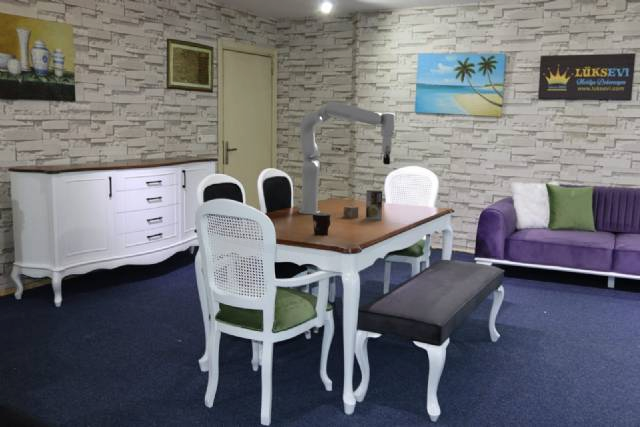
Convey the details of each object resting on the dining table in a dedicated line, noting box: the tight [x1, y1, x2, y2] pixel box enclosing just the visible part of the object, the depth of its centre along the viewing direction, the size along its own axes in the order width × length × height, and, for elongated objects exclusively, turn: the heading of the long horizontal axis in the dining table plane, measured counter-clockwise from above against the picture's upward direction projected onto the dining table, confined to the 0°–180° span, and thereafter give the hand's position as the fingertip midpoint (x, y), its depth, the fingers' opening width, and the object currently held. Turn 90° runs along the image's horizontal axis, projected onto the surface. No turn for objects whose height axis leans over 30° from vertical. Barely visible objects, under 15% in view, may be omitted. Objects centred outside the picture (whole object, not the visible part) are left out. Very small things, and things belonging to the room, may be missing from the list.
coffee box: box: [365, 189, 383, 221], centre depth 339 cm, size 9×6×16 cm
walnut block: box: [343, 205, 359, 219], centre depth 344 cm, size 6×6×6 cm
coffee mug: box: [312, 212, 331, 237], centre depth 284 cm, size 12×9×10 cm
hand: (386, 163), depth 349 cm, fingers open, 9 cm apart
